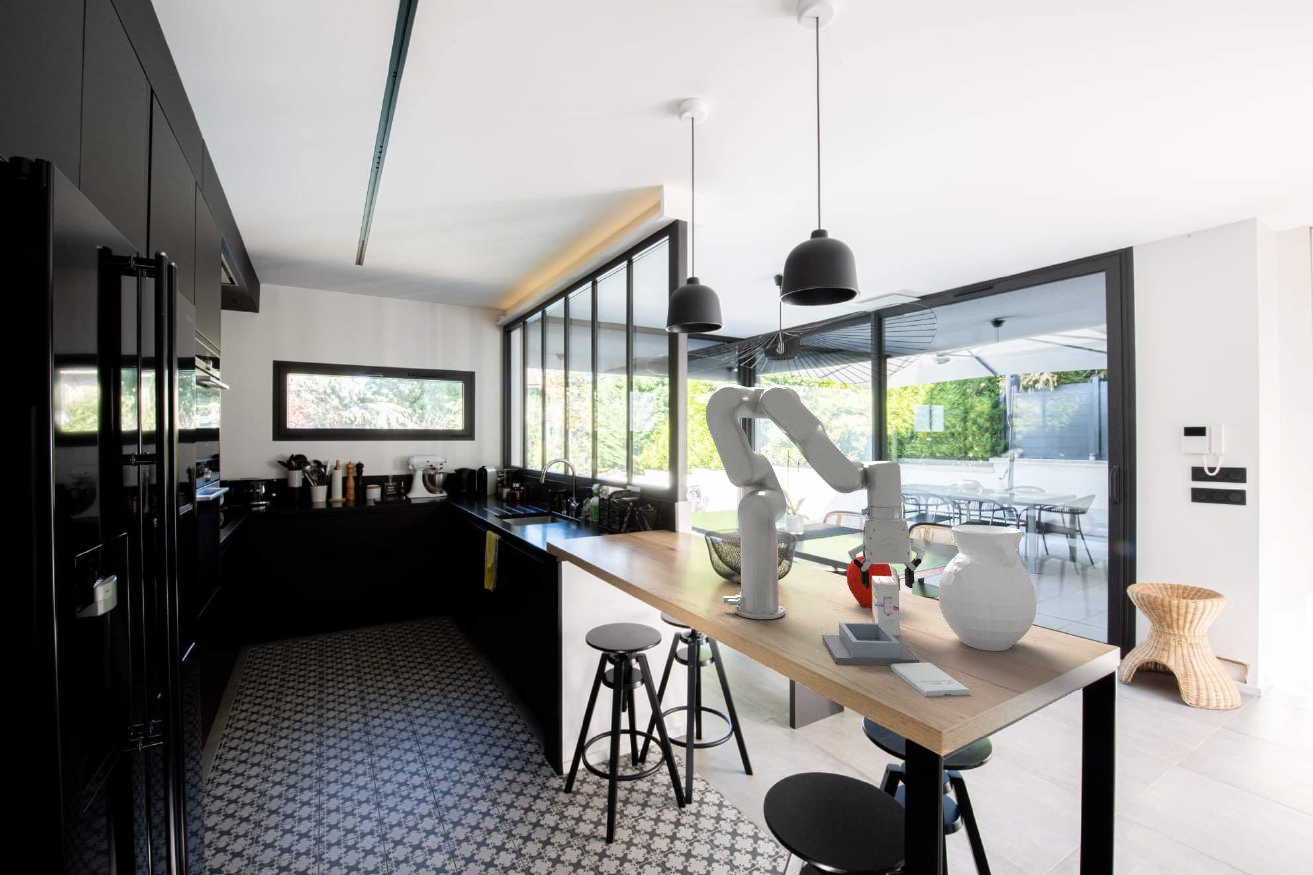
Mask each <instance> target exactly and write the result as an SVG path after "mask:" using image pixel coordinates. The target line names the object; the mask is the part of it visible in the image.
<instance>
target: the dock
mask: <svg viewBox="0 0 1313 875" xmlns="http://www.w3.org/2000/svg"><path fill="white" fill-rule="evenodd" d="M821 640H822V642H823V644H824V646H825V647H826V649H827V651H828V652H829V655H830V656H831V657H832V659H833V661H834V663H835V664H836V665H837V664H838V665H839V664H840V665H868V666H871V665H872V666H876V665H877V666H891V664H901V663H920V659H919V658H918V657H917V656H916V655H915V654H914V653H913V651H912V650H910V649H909V647H908V646H907V645H906V644H905V643H904V642H903V640H901V639H900V638H899V636H893V635H892V634H891V633H890V632H889V631H888V630H887V629H886V628H885V627H884V626H883V625H882V624H881V623H873V622H845V621H843V622H839V621H838V635H836V634H822V637H821Z"/></svg>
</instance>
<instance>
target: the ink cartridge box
mask: <svg viewBox="0 0 1313 875" xmlns="http://www.w3.org/2000/svg"><path fill="white" fill-rule="evenodd" d="M890 569H891V573H892V577H887V576H872V607H871V609H872V612H871V613H872V623H881V624H882V625H883V626H884V627H885V628H886V629H887V630H888V631H889V632H890V633H891V634H892V635H893V636H896V637H899V636H901V631H900V630H901V628H900V584H899V574H898V571H897V569H896V568H895V567H894V566H893V564H890Z"/></svg>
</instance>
